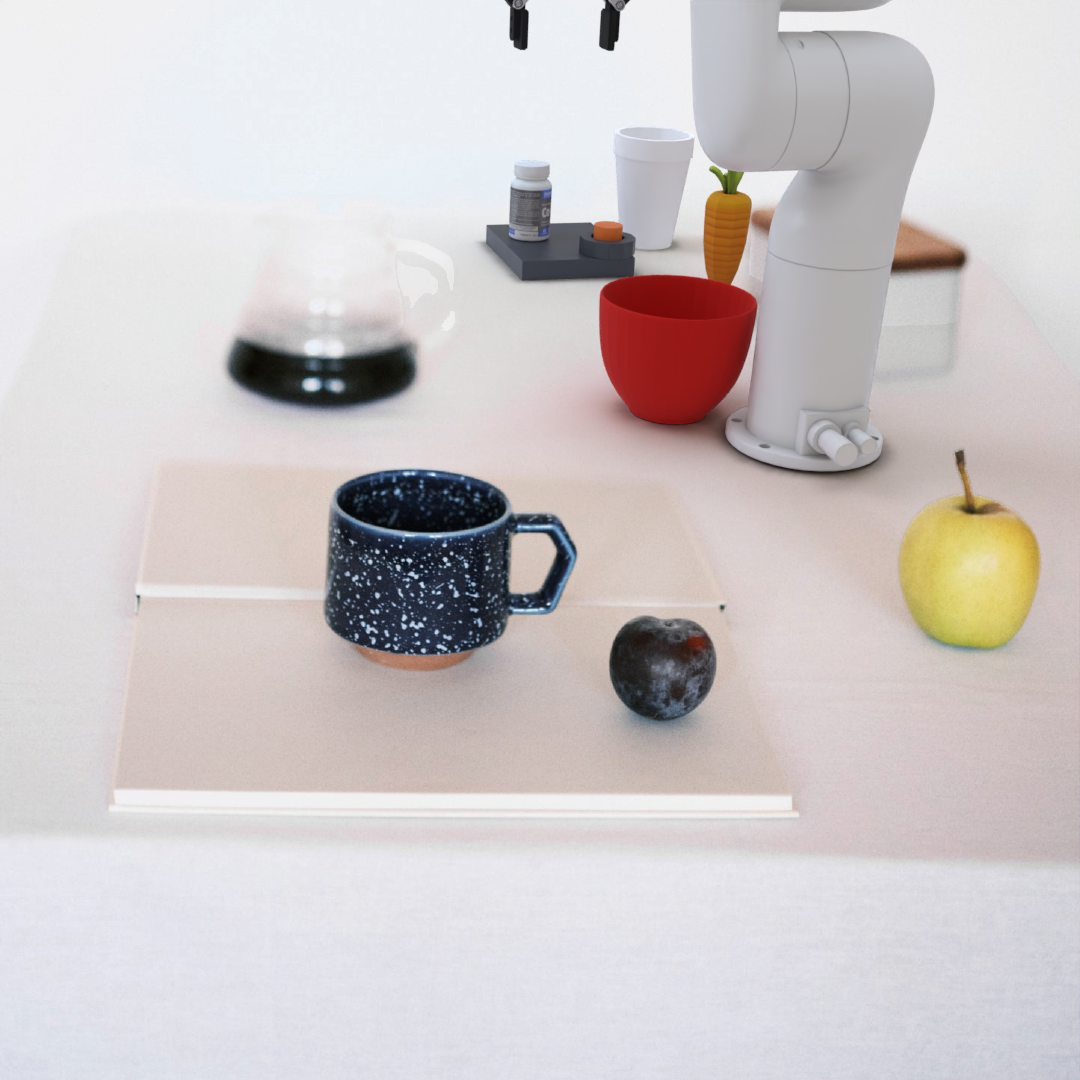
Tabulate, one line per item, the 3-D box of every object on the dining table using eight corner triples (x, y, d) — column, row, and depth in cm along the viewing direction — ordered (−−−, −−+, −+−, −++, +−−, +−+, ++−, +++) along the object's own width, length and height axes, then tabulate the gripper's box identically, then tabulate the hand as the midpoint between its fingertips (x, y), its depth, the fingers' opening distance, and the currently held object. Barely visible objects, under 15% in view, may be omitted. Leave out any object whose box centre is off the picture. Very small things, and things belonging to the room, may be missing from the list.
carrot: (726, 308, 145) (742, 163, 138) (686, 298, 147) (700, 155, 141) (750, 298, 148) (767, 157, 142) (710, 289, 151) (725, 149, 144)
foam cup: (593, 235, 169) (601, 127, 164) (659, 231, 173) (668, 124, 167) (630, 255, 162) (639, 142, 156) (698, 250, 165) (709, 140, 160)
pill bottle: (549, 243, 157) (552, 168, 153) (507, 241, 157) (510, 166, 153) (549, 232, 161) (553, 159, 157) (509, 230, 161) (512, 157, 157)
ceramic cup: (784, 392, 123) (799, 283, 118) (705, 452, 109) (718, 331, 105) (654, 362, 128) (663, 256, 124) (564, 415, 115) (571, 299, 111)
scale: (639, 278, 153) (642, 242, 152) (523, 282, 150) (524, 246, 148) (593, 240, 168) (596, 207, 166) (485, 243, 164) (486, 209, 162)
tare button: (625, 243, 153) (627, 227, 152) (598, 244, 152) (599, 228, 151) (616, 236, 155) (617, 220, 155) (589, 236, 155) (590, 221, 154)
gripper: (499, -133, 134) (494, 52, 141) (665, -125, 138) (652, 54, 146) (480, -134, 140) (476, 44, 148) (639, -126, 145) (628, 45, 152)
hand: (563, 48), depth 147 cm, fingers open, 9 cm apart
